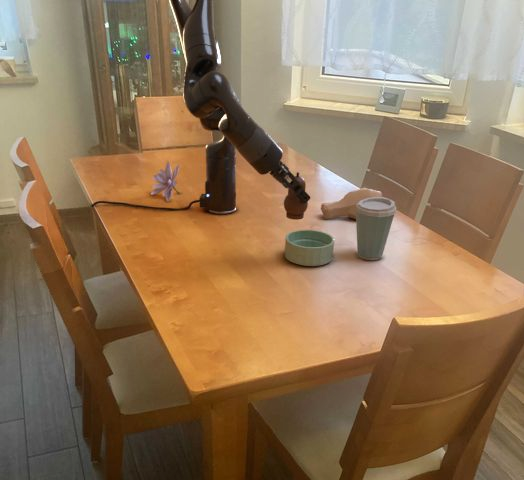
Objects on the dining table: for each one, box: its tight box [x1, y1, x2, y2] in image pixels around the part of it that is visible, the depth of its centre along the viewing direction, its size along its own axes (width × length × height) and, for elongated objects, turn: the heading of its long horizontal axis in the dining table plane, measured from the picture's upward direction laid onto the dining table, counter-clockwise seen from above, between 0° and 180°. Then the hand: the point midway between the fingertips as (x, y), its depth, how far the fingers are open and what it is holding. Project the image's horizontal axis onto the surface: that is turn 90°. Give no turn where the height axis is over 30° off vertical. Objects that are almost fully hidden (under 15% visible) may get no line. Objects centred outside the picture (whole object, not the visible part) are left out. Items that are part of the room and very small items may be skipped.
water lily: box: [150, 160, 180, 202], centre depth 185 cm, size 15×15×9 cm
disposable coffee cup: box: [355, 196, 397, 261], centre depth 144 cm, size 11×11×15 cm
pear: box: [283, 171, 309, 221], centre depth 135 cm, size 6×6×11 cm
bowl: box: [284, 229, 335, 267], centre depth 145 cm, size 13×13×6 cm
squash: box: [320, 186, 383, 220], centre depth 172 cm, size 11×20×9 cm, turn 100°
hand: (303, 196), depth 135 cm, fingers closed on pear, 5 cm apart
